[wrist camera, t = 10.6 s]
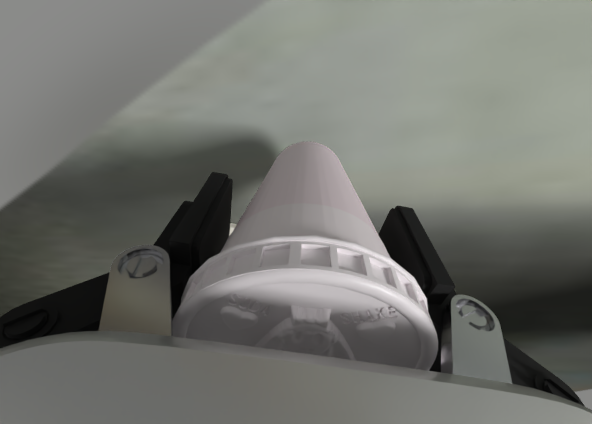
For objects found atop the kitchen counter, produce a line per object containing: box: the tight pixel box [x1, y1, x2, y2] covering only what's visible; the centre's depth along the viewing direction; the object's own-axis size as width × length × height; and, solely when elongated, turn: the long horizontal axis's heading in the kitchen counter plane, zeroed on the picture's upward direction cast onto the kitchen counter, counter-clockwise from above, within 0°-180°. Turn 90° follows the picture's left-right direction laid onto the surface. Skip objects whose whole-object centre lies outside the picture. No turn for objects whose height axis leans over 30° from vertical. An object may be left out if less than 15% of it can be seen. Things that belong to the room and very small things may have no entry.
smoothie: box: [172, 142, 438, 371], centre depth 9 cm, size 6×6×14 cm
